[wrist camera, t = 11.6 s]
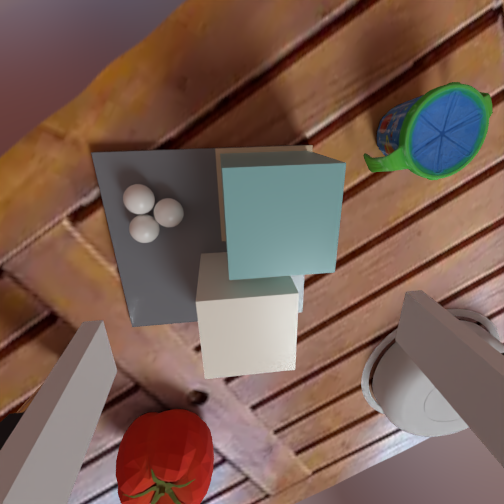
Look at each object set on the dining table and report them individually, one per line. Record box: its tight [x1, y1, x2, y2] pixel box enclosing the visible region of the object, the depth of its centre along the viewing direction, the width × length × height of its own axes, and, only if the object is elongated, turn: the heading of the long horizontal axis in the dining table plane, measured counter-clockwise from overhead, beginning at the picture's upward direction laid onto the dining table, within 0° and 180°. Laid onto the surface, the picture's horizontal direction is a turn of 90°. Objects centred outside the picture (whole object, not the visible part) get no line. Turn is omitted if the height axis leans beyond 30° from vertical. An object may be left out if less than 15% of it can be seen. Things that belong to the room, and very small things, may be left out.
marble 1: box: [123, 184, 155, 214], centre depth 29 cm, size 3×3×3 cm
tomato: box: [116, 409, 214, 504], centre depth 42 cm, size 14×13×10 cm
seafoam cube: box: [220, 151, 346, 280], centre depth 27 cm, size 9×9×10 cm
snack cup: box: [364, 82, 493, 180], centre depth 29 cm, size 11×8×7 cm
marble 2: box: [129, 214, 160, 243], centre depth 31 cm, size 3×3×3 cm
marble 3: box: [154, 198, 184, 227], centre depth 30 cm, size 3×3×3 cm
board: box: [91, 144, 313, 327], centre depth 34 cm, size 22×21×1 cm
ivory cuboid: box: [196, 252, 299, 379], centre depth 32 cm, size 9×9×10 cm
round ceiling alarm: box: [361, 309, 504, 437], centre depth 46 cm, size 25×25×6 cm
